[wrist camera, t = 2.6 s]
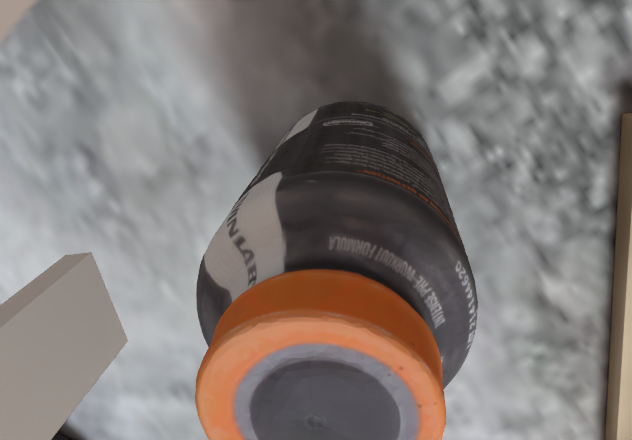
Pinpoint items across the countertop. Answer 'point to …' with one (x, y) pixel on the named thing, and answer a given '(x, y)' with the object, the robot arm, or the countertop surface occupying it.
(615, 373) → the maple board
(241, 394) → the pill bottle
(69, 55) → the countertop surface
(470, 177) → the countertop surface
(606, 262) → the countertop surface
